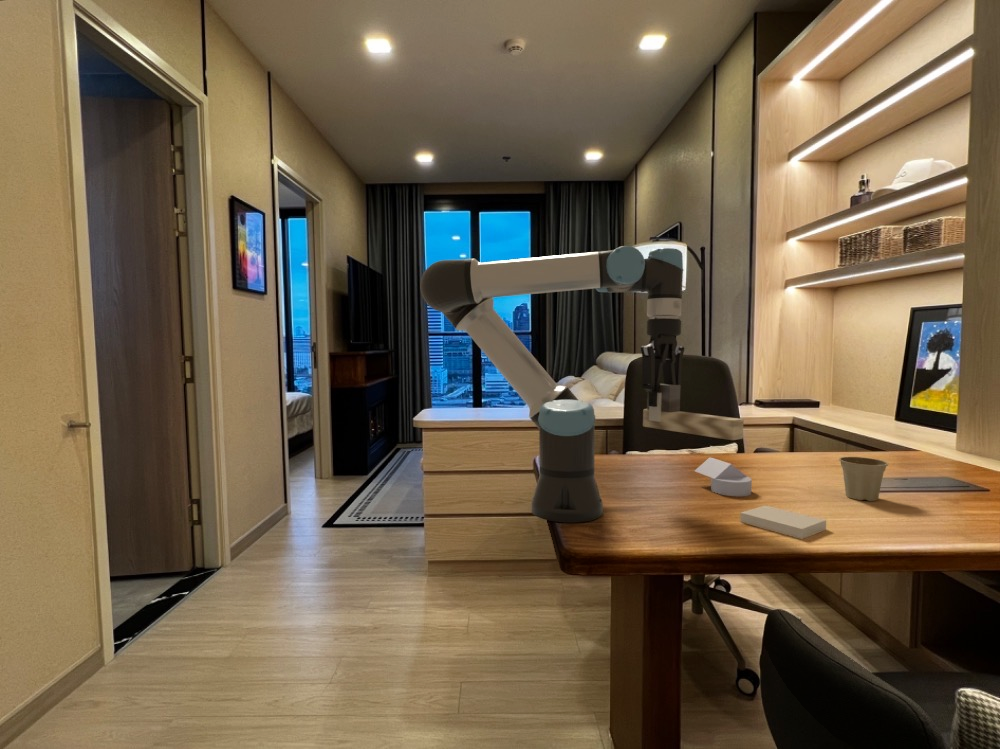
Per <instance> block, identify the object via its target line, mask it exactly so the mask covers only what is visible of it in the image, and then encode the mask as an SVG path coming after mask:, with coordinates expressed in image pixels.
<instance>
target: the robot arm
mask: <svg viewBox="0 0 1000 749" xmlns="http://www.w3.org/2000/svg"><path fill="white" fill-rule="evenodd" d="M683 257H684V256H683V253H682V251H681V250H680V249H678V248H671V247H669V248H668V247H664V248H663V247H662V248H656V249H655V248H654V249H653V250H650V251H649V253H648V256H647V258H645V257H644V255H643V253H642V252H641V250H639V249H637V248H636V247H634V246H632V245H622V246H619V247H616V248H615V249H612V250H601V251H593V252H591V251H589V252H581V253H569V254H568V253H567V254H561V255H560V254H559V255H548V256H539V257H526V258H518V259H517V258H516V259H509V260H508V259H507V260H495V261H487V262H486V261H484V262H480V261H479V260H477V259H476V258H466V259H443V260H438V261H435V262H434V263H432V264H430V265H429V266H428V267H426V270H424V272H423V274H422V275H421V278H420V283H419V284H420V286H419V288H420V293H421V296H422V298H423V300H424V301H425V303H426V305H428V306H429V307H430V308H431V309H434V310H435V311H438V312H439V313H442V314H443V315H444V317H445V318H446V319H447V320H448V321H449V322H450V324H451V325H452V326H453V327H454V328H455V330H456V331H460V332H462V331H463V332H465V333H467V335H468V336H469V337H470V338H471V340H473V342H474V343H475V344H476V345H477V347H478V348H479V349H480V350H481V351H482V352H483V354H484V355H485V356H486V357H487V359H488V360H489V361H490V362H491V363H492V365H494V367H495V369H497V371H498V372H499V373H500V374H501V375H502V377H503V378H504V379H505V380H506V381H507V382H508V383H509V385H510V386H511V387H512V389H513V390H514V391H515V392H516V393H517V394H518V396H519V397H520V398H521V399H522V401H523V402H524V403H525V404H526V405H527V407H528V408H529V416H528V417H529V419H530V420H531V421H532V422H533V424H534V425H535V426H536V427H537V429H538V430H539V439H538V440H539V460H538V461H539V463H538V464H539V477H538V479H537V483H536V486H535V490H534V494H533V497H532V498H531V503H530V504H531V505H530V506H531V508H530V510H531V513H532V514H533V515H534V516H535V517H537V518H539V519H542V520H546V521H551V522H558V523H584V522H589V521H594V520H596V519H598V518H601V517H602V516H603V513H604V504H603V499H602V497H601V495H600V492H599V491H600V490H599V488H598V484H597V481H596V478H595V477H596V476H595V424H596V415H595V409H594V408H595V407H594V406H593V405H592V404H591V403H589V402H586V401H583V400H579V399H578V398H577V397H576V395H575V394H574V393H573V392H572V390H570V388H569V387H568V386H567V385H559V384H557V383H556V381H555V380H554V379H553V378H552V376H550V374H549V373H548V371H546V370H545V368H544V367H543V366H542V365H541V363H539V361H538V359H537V358H536V357H534V355H533V354H532V353H531V351H530V350H529V349H528V348H527V347H526V346H525V344H524V343H523V342H522V341H521V340H520V338H518V336H517V335H516V334H515V332H514V331H513V330H512V329H511V328H510V327H509V326H508V324H507V323H506V322H505V321H504V319H503V318H502V317H501V316H500V315H499V314H498V313H497V311H496V310H495V309H494V300H495V299H494V298H501V297H512V296H525V295H534V294H537V295H538V294H546V293H556V292H557V293H558V292H568V291H569V292H570V291H579V290H591V289H593V290H594V289H595V290H596V291H597V292H599V293H608V294H612V293H647V302H646V316H647V317H648V318H649V319H647V321H646V335H647V336H650V339H649V341H648V344H647V345H641V347H640V353H641V358H642V362H641V364H642V369H641V370H642V373H641V375H642V376H641V379H642V381H641V382H642V384H641V388H642V390H644V392H646V393H647V392H649V420H650V421H657V422H661V397H662V393H658V392H659V389H660V384H661V381H662V376H663V384H673V385H681V387H682V376H683V375H682V372H683V371H682V370H683V356H684V352H685V347H684V346H680V345H678V341H677V336H680V335H682V334H681V333H682V320H681V319H679V317H682V298H683V294H682V293H683V280H684V279H683V278H684V275H683V274H684V265H683V264H684V263H683V261H684V260H683ZM662 374H663V375H662ZM681 387H680V389H681Z"/></svg>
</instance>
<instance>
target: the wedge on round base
mask: <svg viewBox="0 0 1000 749" xmlns="http://www.w3.org/2000/svg"><path fill="white" fill-rule="evenodd" d="M694 472H696V473H697V474H701V475H703V476H705V477H708V478H710V491H711V492H713V493H714V492H715V493H714V494H717V493H718V494H717V495H722V496H729V497H730V496H731V497H746V496H750V495H752V478H751V477H749V476H747V475H746V474H744V472H742V471H741V470H740V469H738V468H737V467H736V466H735V465H733V464H732V463H730V462H726V461H723V460H720V459H717V458H713V457H708V458H707V459H706V460H705V461H704V462H702V464H700V465H698V467H697V468H696V469H695V470H694Z"/></svg>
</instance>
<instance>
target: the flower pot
mask: <svg viewBox="0 0 1000 749" xmlns="http://www.w3.org/2000/svg"><path fill="white" fill-rule="evenodd" d="M838 461H839V462H840V466H841V467H842V475H843V482H844V490H845V495H846V497H848V498H850V499H853V500H857V501H864V500H866V501H868V502H874V501H877V500H879V495H880V491H881V486H882V482H883V476H884V473H885V471H886V469H887V466H889V463H888V462H887V461H885V460H880V459H878V458H877V459H876V458H870V457H862V456H841V457H839V458H838Z"/></svg>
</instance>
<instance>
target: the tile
mask: <svg viewBox="0 0 1000 749" xmlns="http://www.w3.org/2000/svg"><path fill="white" fill-rule="evenodd" d="M739 518H740V519H739V520H740V523H743V524H746V525H751V526H754V527H757V528H761V529H764V530H767V531H772V532H775V533H778V534H781V533H782V534H781V535H786V536H788V535H789V537H792V536H793V537H792V538H796V539H799V540H803V538H804V539H806V538H808V537H811V536H813V535H816V534H818V533H821V532H823V531H826V530H827V520H826V519H822V518H820V517H819V518H818V517H814V516H810V515H807V514H803V513H799V512H793V511H790V510H785V509H782V508H779V507H773V506H770V505H762V506H758V507H755V508H752V509H748V510H745V511H742V512H740V516H739Z"/></svg>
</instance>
